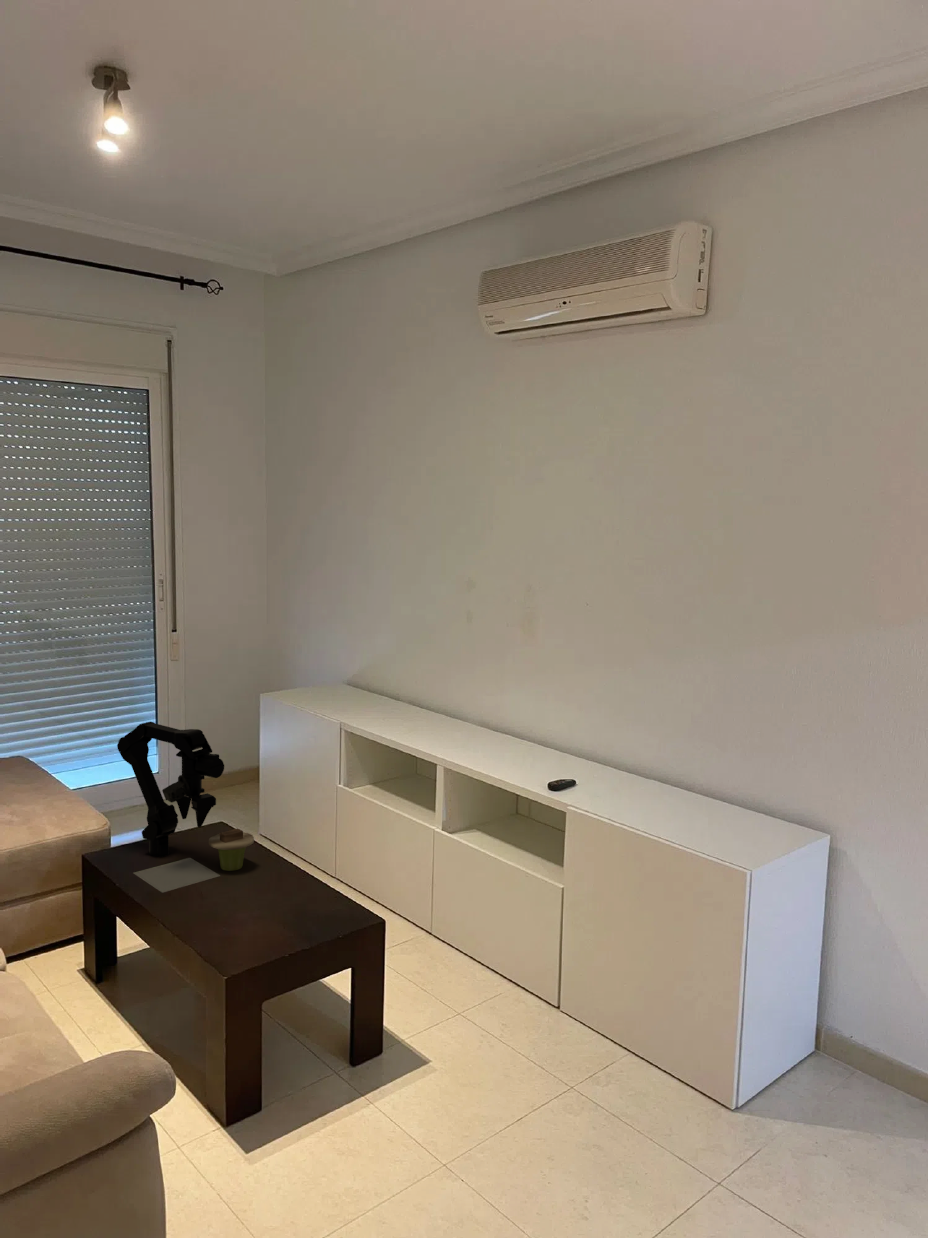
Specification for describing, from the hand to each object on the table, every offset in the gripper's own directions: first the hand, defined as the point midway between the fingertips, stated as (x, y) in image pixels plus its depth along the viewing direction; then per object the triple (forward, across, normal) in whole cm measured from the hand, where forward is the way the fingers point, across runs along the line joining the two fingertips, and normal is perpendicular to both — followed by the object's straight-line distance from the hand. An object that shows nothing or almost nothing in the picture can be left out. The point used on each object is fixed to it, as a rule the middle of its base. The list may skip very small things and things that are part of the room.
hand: (191, 823), depth 270 cm
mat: (+13, +6, -8) cm, 16 cm away
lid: (+4, +11, +7) cm, 14 cm away
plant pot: (+13, +11, +7) cm, 19 cm away
